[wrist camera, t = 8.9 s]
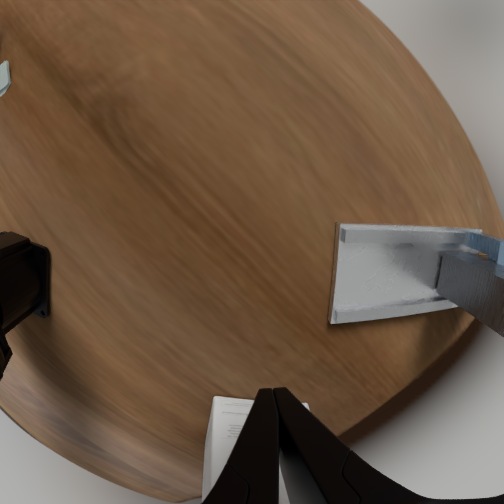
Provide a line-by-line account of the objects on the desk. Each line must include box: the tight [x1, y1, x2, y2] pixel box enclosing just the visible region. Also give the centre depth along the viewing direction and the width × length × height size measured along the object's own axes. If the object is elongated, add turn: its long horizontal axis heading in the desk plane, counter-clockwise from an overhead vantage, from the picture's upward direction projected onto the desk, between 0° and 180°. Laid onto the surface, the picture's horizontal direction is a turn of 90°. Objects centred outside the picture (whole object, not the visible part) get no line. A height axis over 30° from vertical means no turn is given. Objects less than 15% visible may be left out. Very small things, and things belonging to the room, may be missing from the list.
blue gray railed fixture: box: [328, 222, 504, 324], centre depth 18 cm, size 16×8×5 cm, turn 90°
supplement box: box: [202, 396, 310, 504], centre depth 16 cm, size 9×9×15 cm
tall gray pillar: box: [436, 252, 504, 337], centre depth 15 cm, size 8×4×10 cm, turn 90°
